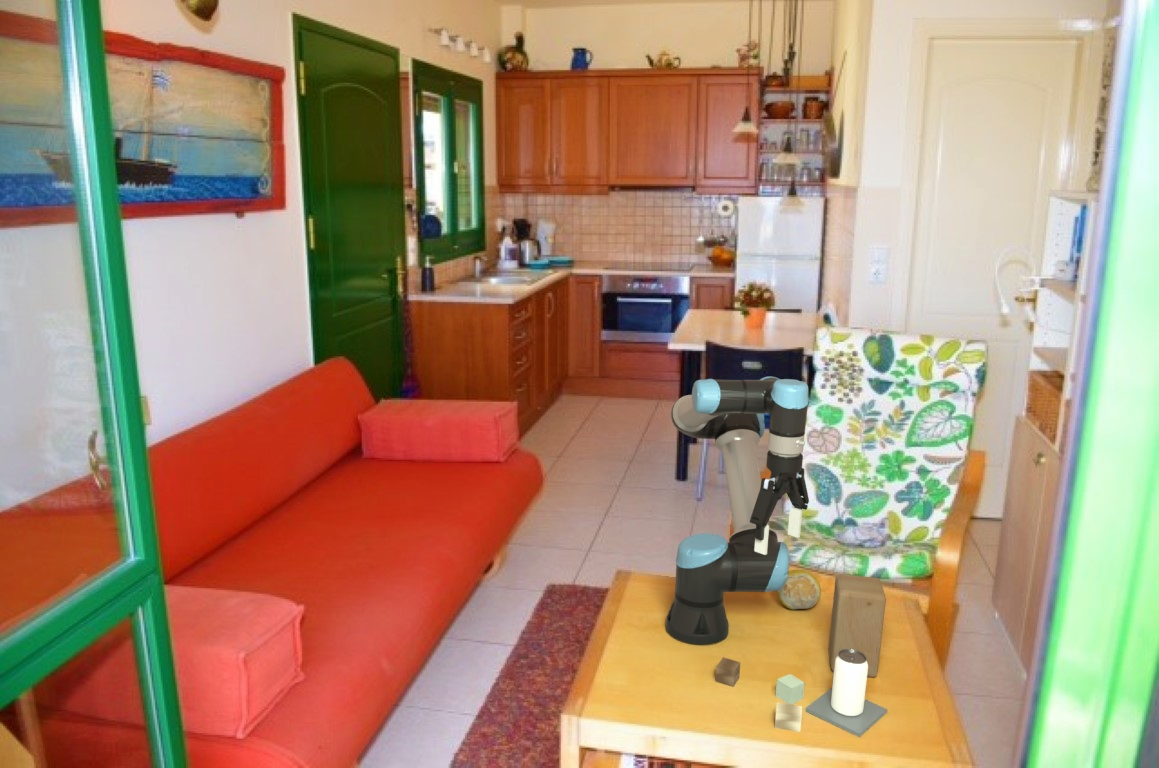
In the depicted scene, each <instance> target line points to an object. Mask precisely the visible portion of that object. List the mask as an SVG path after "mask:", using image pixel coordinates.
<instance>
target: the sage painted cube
mask: <svg viewBox="0 0 1159 768" xmlns="http://www.w3.org/2000/svg"><path fill="white" fill-rule="evenodd" d="M775 687H776V688H775V697H777V698H778V699H780V700H781V701H783V703H784V702H785V704H791V705H795V703H798V702H800V701H803V700H804V691H805V682H804V681H802V680H801V679H799V678H797V677H796V676H795V675H793V674H790V673H789V674H786V675H784V676H782V677H780V678H777V679H776V686H775Z"/></svg>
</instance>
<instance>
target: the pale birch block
mask: <svg viewBox="0 0 1159 768" xmlns="http://www.w3.org/2000/svg"><path fill="white" fill-rule="evenodd" d="M775 707H776V708H775V717H774V718H775V719H774V728H775V729H780V730H784V731H785V730H786V731H791V732H797V733H801V728H802V719H803V718H802V717H803V705H798V704H792V705H791V704H787V703H786V702H785V703H784V702H778V701H777V702H776V706H775Z"/></svg>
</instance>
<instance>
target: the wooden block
mask: <svg viewBox="0 0 1159 768" xmlns="http://www.w3.org/2000/svg"><path fill="white" fill-rule="evenodd" d="M832 601H833V602H832V609H831V619H830V629H829V632H830V633H829V640H828V649H827V650H828V656H829V663H830V669H831V671H832V672H834V667H835V660H836V657H837V656H838V652H839V651H840V650H843V649H853V650H857V651H860V652H862V653H863V654H864V655H865V656H866V657H867V660H866V661H867V663H868V673H867V678H869V677H870V678H875V677H877V675H878V671H879V664H880V663H879V662H880V656H881V646H882V637H883V629H884V628H883V627H884V621H885V613H886V612H885V610H886V603H887V598H886V594H885V591H884V587H883V583H882V581H881V579H880V578H878V577H871V576H870V577H869V576H861V575H852V574H844V573H838V574H837V575H836V577H835V580H834V590H833V600H832Z"/></svg>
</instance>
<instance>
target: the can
mask: <svg viewBox="0 0 1159 768" xmlns="http://www.w3.org/2000/svg"><path fill="white" fill-rule="evenodd" d="M866 660H867V657H866V656H865V655H864V654H863V653H862V652H860V651H857V650H853V649H843V650H840V651H839V652H838V656H837V657H836V660H835V667H834V671H833V678H832V687H831V688H832V696H831V706H832V708H833V709H834V710H835V711H836V712H837V713H839V714H841V715H844V716H849V717H854V716H858V715H860V714H861V713H862V712H863V708H864V699H866V689H867V680H868V676H867V673H868V663H867V661H866Z"/></svg>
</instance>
